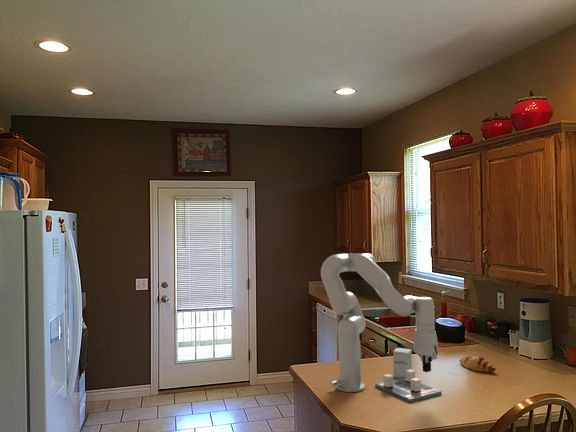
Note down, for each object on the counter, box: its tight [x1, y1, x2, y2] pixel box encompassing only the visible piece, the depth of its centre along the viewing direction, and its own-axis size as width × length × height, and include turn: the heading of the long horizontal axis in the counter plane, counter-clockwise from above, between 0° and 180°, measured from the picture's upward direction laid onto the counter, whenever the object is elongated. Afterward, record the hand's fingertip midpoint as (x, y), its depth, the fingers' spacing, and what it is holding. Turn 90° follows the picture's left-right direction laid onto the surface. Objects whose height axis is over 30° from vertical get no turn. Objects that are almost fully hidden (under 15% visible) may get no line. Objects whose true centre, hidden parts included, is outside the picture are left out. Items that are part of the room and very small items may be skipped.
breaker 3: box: [411, 377, 422, 391], centre depth 203 cm, size 3×3×4 cm
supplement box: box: [392, 347, 413, 379], centre depth 227 cm, size 7×7×13 cm
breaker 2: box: [406, 369, 416, 382], centre depth 215 cm, size 3×3×4 cm
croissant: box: [459, 355, 496, 373], centre depth 238 cm, size 21×10×8 cm, turn 30°
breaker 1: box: [382, 373, 394, 387], centre depth 209 cm, size 3×3×4 cm
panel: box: [374, 377, 442, 404], centre depth 208 cm, size 18×22×2 cm
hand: (426, 371), depth 198 cm, fingers closed
